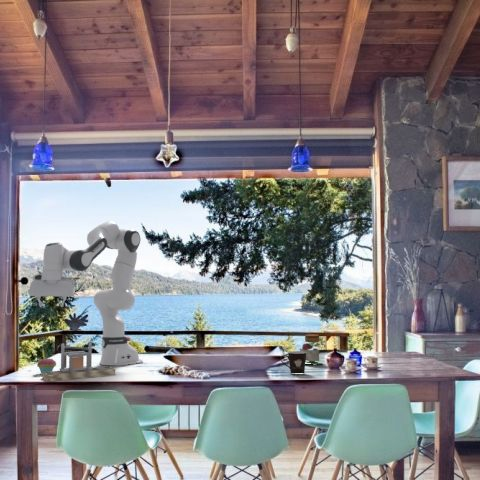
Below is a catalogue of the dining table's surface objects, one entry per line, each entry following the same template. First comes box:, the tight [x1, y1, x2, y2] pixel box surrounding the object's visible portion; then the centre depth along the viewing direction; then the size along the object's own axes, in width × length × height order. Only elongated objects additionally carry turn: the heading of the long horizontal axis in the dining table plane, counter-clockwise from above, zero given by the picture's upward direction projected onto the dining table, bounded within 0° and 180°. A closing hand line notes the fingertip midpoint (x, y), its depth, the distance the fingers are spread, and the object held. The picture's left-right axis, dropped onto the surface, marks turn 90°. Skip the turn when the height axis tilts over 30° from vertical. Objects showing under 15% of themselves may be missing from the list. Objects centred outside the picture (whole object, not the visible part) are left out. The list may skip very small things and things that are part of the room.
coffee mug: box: [279, 350, 307, 374], centre depth 283 cm, size 12×9×10 cm
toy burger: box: [299, 333, 323, 365], centre depth 313 cm, size 12×13×15 cm
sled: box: [59, 341, 94, 372], centre depth 277 cm, size 14×5×12 cm, turn 123°
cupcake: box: [36, 348, 57, 375], centre depth 286 cm, size 9×8×12 cm
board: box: [42, 365, 116, 382], centre depth 277 cm, size 31×10×3 cm, turn 123°
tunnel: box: [64, 350, 89, 374], centre depth 277 cm, size 9×10×8 cm
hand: (51, 306), depth 281 cm, fingers open, 8 cm apart
